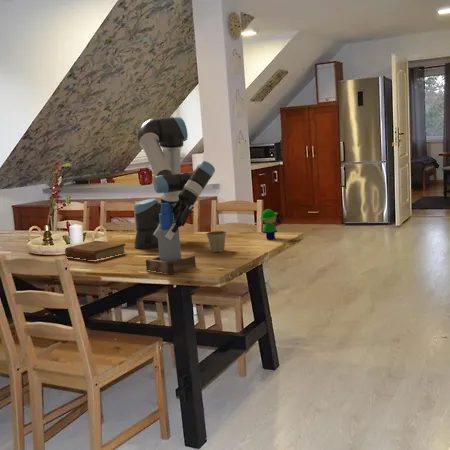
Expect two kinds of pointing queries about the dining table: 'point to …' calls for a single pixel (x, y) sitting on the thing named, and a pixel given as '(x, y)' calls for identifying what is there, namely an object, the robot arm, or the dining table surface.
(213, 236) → the flower pot
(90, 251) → the diary
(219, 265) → the dining table surface
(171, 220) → the blue and grey bottle
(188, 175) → the robot arm
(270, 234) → the toy
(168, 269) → the rest
